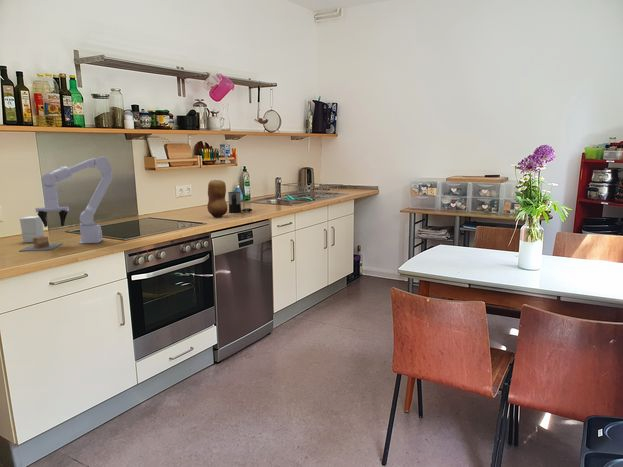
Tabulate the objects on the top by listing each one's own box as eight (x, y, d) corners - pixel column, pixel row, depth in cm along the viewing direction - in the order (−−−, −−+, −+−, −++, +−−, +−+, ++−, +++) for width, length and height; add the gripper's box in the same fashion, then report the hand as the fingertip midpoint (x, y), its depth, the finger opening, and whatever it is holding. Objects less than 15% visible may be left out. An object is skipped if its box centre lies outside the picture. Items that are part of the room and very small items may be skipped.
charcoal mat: (62, 244, 227) (62, 243, 227) (51, 250, 214) (51, 248, 214) (32, 245, 225) (32, 244, 225) (19, 251, 212) (19, 250, 212)
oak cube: (49, 246, 220) (47, 236, 220) (39, 248, 216) (38, 238, 216) (43, 245, 222) (41, 236, 222) (33, 247, 218) (32, 237, 218)
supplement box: (45, 239, 240) (42, 215, 238) (37, 242, 233) (34, 217, 230) (30, 239, 240) (27, 216, 238) (22, 242, 233) (19, 218, 230)
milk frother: (227, 212, 334) (226, 191, 331) (248, 210, 340) (247, 190, 337) (232, 214, 321) (231, 193, 318) (253, 212, 327) (253, 192, 324)
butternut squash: (229, 217, 305) (227, 180, 300) (209, 219, 300) (207, 181, 295) (225, 215, 317) (223, 179, 313) (206, 216, 312) (203, 179, 308)
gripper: (70, 197, 226) (73, 224, 228) (38, 198, 224) (41, 225, 226) (64, 198, 219) (68, 226, 222) (32, 199, 217) (35, 227, 219)
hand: (54, 226), depth 223 cm, fingers open, 7 cm apart
